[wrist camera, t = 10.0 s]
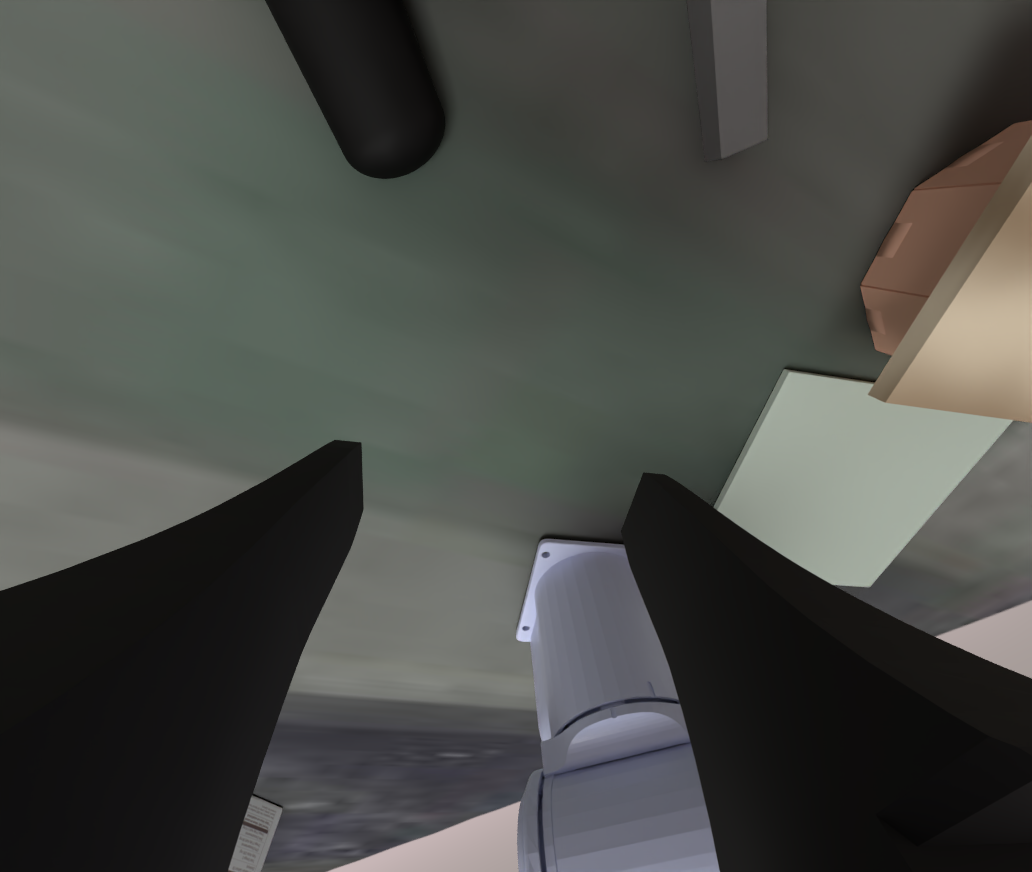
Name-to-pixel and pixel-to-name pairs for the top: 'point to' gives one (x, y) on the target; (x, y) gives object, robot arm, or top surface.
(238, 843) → the supplement box
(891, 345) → the bowl
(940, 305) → the lid
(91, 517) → the top surface
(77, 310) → the top surface
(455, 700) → the top surface
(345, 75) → the door handle
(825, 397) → the mat
